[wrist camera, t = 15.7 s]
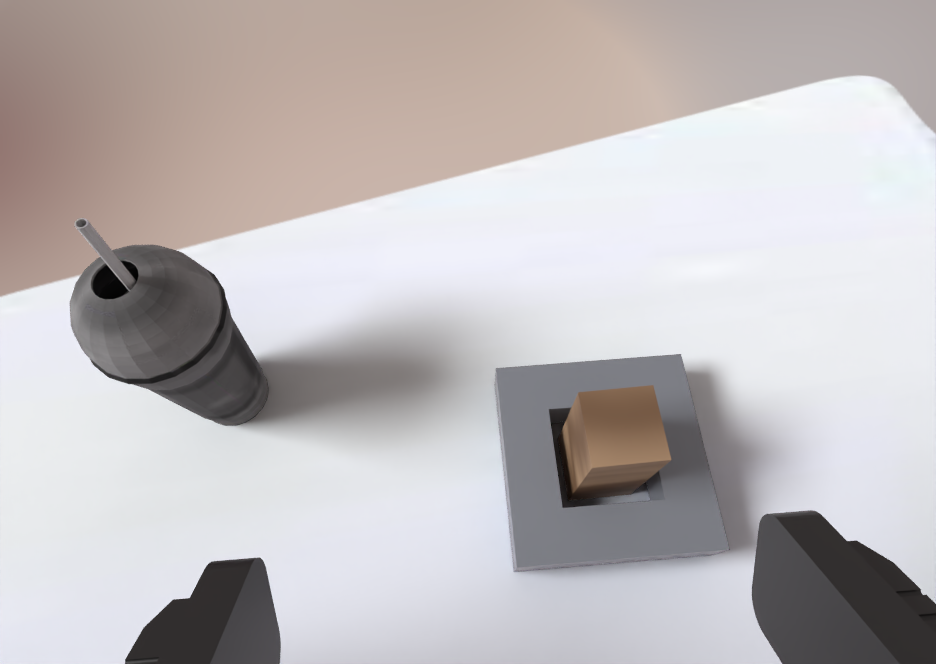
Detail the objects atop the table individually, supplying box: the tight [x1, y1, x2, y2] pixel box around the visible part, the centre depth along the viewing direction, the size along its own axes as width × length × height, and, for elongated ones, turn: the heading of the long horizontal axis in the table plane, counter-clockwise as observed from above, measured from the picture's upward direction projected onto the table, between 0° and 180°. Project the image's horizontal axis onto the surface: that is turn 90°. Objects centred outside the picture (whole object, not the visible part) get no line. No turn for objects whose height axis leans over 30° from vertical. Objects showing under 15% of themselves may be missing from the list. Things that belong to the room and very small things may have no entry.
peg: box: [558, 385, 671, 501], centre depth 35 cm, size 4×4×9 cm
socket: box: [495, 354, 730, 572], centre depth 38 cm, size 12×12×3 cm
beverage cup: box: [70, 218, 268, 426], centre depth 33 cm, size 7×7×20 cm
